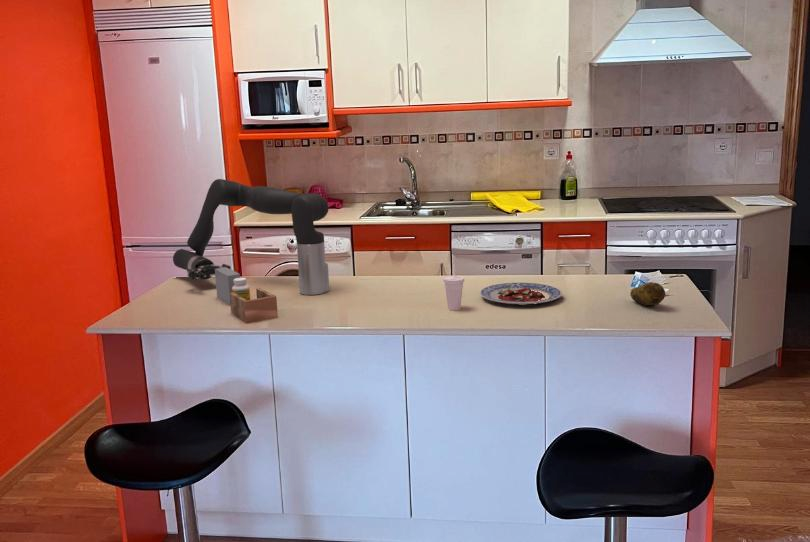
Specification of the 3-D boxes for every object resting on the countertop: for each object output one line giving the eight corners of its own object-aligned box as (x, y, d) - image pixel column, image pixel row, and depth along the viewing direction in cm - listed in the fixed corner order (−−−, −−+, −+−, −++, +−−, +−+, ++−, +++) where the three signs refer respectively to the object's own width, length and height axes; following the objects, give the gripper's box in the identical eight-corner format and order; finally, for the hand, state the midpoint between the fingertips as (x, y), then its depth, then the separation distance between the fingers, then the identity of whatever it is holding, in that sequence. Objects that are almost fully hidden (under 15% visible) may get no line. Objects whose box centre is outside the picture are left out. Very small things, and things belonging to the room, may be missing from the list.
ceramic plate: (577, 303, 231) (578, 294, 230) (503, 313, 222) (503, 304, 222) (536, 285, 255) (536, 277, 254) (467, 294, 246) (466, 285, 246)
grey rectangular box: (217, 297, 251) (214, 268, 249) (228, 296, 253) (226, 267, 251) (230, 306, 240) (227, 275, 238) (242, 303, 242) (239, 274, 240)
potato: (655, 300, 231) (657, 275, 229) (667, 312, 218) (668, 285, 216) (628, 300, 231) (629, 275, 230) (638, 312, 219) (639, 285, 217)
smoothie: (467, 306, 230) (466, 262, 227) (461, 312, 225) (461, 266, 221) (447, 305, 233) (446, 261, 229) (441, 310, 227) (440, 265, 224)
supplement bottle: (247, 305, 240) (245, 276, 238) (253, 308, 236) (251, 279, 234) (231, 308, 238) (228, 278, 235) (237, 311, 233) (235, 281, 231)
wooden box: (231, 313, 231) (229, 293, 230) (261, 307, 236) (259, 288, 235) (246, 323, 220) (244, 301, 219) (277, 317, 226) (276, 296, 224)
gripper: (180, 259, 265) (194, 267, 251) (219, 254, 272) (234, 261, 259) (182, 280, 266) (196, 288, 253) (221, 274, 274) (236, 282, 260)
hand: (215, 274), depth 256 cm, fingers open, 8 cm apart
